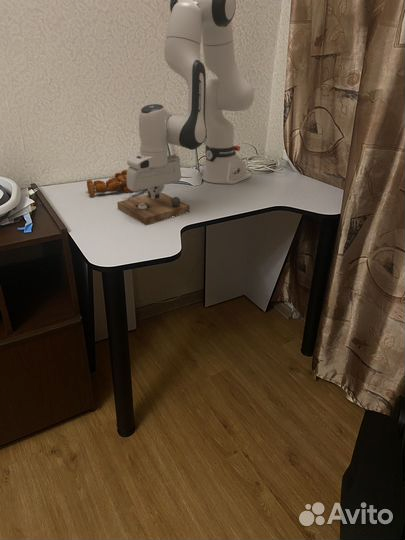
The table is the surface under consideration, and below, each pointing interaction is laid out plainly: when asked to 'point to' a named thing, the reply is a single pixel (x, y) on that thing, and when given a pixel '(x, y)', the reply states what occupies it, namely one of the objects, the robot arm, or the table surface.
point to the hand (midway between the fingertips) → (155, 198)
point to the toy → (109, 184)
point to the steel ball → (142, 206)
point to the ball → (175, 201)
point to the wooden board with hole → (152, 208)
